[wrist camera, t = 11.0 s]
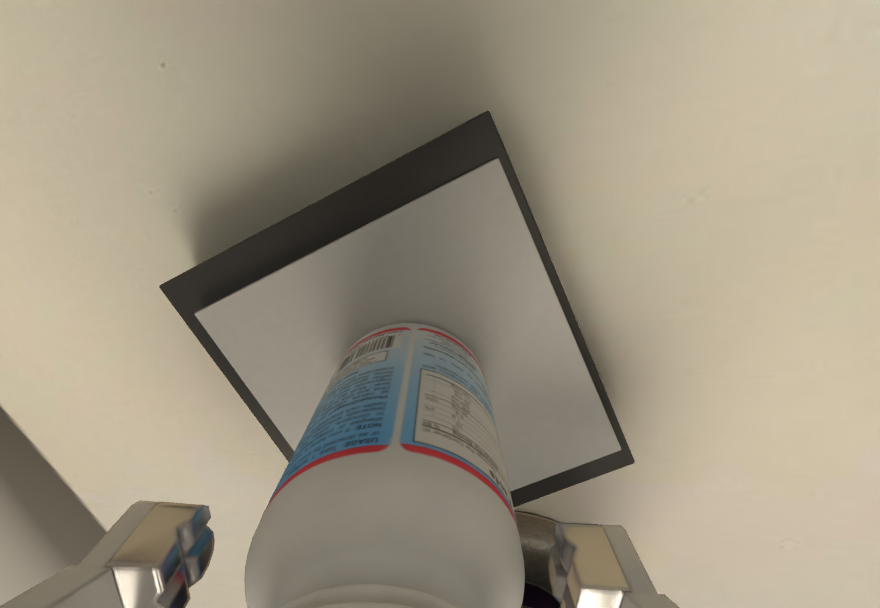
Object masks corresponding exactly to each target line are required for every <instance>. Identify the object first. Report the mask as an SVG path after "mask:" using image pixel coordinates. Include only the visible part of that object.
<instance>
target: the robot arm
mask: <svg viewBox="0 0 880 608" xmlns="http://www.w3.org/2000/svg"><path fill="white" fill-rule="evenodd" d="M210 518H211V516H210V511H209V506H205V505H196V504H183V503H170V502H153V501H138V502H136V503H135V504H133V505H131V506H130V508H129V509H128V510H127V511H126V512H125V513H124V514H123V515H122V516H121V518H120V519H119V520H118V521H117V522H116V523H115V524H114V525H113V526H112V528H111V529H110V530H109V531H108V532H107V533H106V534H105V536H104V537H103V538H102V539H101V540H100V541H99V542H98V543H97V544H96V546H95V547H94V548H93V549H92V550H91V551H90V552H89V553H88V554H87V555H86V557H85V558H84V559H83V560H82V561H81V562H80V563H79V564H78V566H69V567H67V568H65V569H63V570H62V571H60V572H58V573H57V574H55V575H53V576H51V577H50V578H48V579H46V580H44V581H43V582H41V583H39V584H38V585H36V586H34V587H32V588H31V589H29V590H27V591H25V592H24V593H22V594H20V595H18V596H17V597H15V598H13V599H12V600H10V601H8V602H6V603H5V604H3V605H1V606H0V608H185V607H186V605H187V603H188V602H189V600H190V593H189V588H190V587H191V586H192V585H194V584H195V583H196V582H198V581H199V580H200V579H201V578H202V577H203V575H204V573H205V571H206V570H207V568H208V566H209V563H210V560H211V557H212V554H213V551H214V534H213V531H212V530H211V529H210V528H209V527H208V526H207V525H206V524H207V523H208V521H209V520H210ZM553 536H554V540H555V543H556V544H555V545H554V546H553V547H552V548H551V549H550V552H549V558H548V574H549V581H550V586H551V590H552V594H553V596H554V597H555V598H556V599H557V600H558V602H559V603H560V604H561V605H560V608H679V607H678V606H677V605H676V604H675V603H674V602H672V601H671V600H670V599H669V598H668V597H667V596H666V595H664V594H657V592H656V590H655V588H654V586H653V584H652V582H651V580H650V578H649V576H648V574H647V572H646V570H645V568H644V566H643V564H642V562H641V560H640V558H639V556H638V554H637V552H636V550H635V548H634V546H633V544H632V542H631V540H630V538H629V536H628V534H627V532H626V530H625V529H624V528H623V527H622V526H620V525H598V524H577V523H557V524H556V526H555V528H554V532H553Z"/></svg>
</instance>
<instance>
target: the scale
mask: <svg viewBox="0 0 880 608" xmlns="http://www.w3.org/2000/svg"><path fill="white" fill-rule="evenodd" d="M159 287H160V289H161V290H162V291H163V293H164V294H165V295H166V297H167V298H168V299H169V301H170V302H171V304H172V305H173V306H174V308H175V309H176V310H177V312H178V313H179V314H180V316H181V317H182V318H183V320H184V321H185V322H186V324H187V325H188V326H189V328H190V329H191V331H192V332H193V333H194V335H195V336H196V337H197V339H198V340H199V341H200V343H201V344H202V345H203V347H204V348H205V349H206V351H207V352H208V353H209V355H210V356H211V358H212V359H213V360H214V362H215V363H216V364H217V366H218V367H219V368H220V370H221V371H222V372H223V374H224V375H225V376H226V378H227V379H228V380H229V382H230V383H231V385H232V386H233V387H234V389H235V390H236V391H237V393H238V394H239V395H240V397H241V398H242V399H243V401H244V402H245V403H246V405H247V406H248V407H249V409H250V410H251V412H252V413H253V414H254V416H255V417H256V418H257V420H258V421H259V422H260V424H261V425H262V426H263V428H264V429H265V430H266V432H267V433H268V434H269V436H270V437H271V439H272V440H273V441H274V443H275V444H276V445H277V447H278V448H279V449H280V451H281V452H282V453H283V455H284V456H285V457H286V459H287V460H288V461H289V462H290V460H291V458H292V456H293V454H294V452H295V450H296V448H297V446H298V444H299V442H300V440H301V438H302V436H303V434H304V432H305V430H306V428H307V426H308V424H309V422H310V420H311V418H312V416H313V414H314V412H315V410H316V408H317V406H318V404H319V402H320V400H321V398H322V396H323V394H324V392H325V390H326V388H327V386H328V384H329V382H330V380H331V378H332V376H333V374H334V372H335V370H336V368H337V366H338V365H339V363H340V361H341V360H342V358H343V356H344V355H345V354H346V352H347V351H348V350H349V349H350V348H351V346H352V345H353V344H355V343H356V342H357V341H358V340H359V339H361V338H362V337H363V336H365V335H367V334H368V333H370V332H372V331H374V330H376V329H379V328H382V327H385V326H388V325H393V324H399V323H417V324H425V325H429V326H433V327H436V328H439V329H441V330H444V331H446V332H448V333H450V334H452V335H453V336H455V337H456V338H458V339H459V340H460V341H462V342H463V343H464V344H465V345H466V346H467V347H468V348H469V349H470V350H471V351H472V353H473V354H474V356H475V357H476V359H477V360H478V362H479V364H480V366H481V368H482V370H483V373H484V376H485V380H486V383H487V388H488V392H489V397H490V402H491V406H492V410H493V415H494V420H495V425H496V429H497V433H498V438H499V443H500V447H501V452H502V457H503V462H504V466H505V470H506V476H507V480H508V485H509V489H510V494H511V498H512V503H513V506H514V507H516V506H519V505H521V504H524V503H527V502H529V501H532V500H535V499H538V498H540V497H543V496H546V495H549V494H551V493H554V492H557V491H559V490H562V489H565V488H568V487H570V486H573V485H576V484H578V483H581V482H584V481H587V480H589V479H592V478H595V477H597V476H600V475H603V474H606V473H608V472H611V471H614V470H617V469H619V468H622V467H625V466H627V465H630V464H633V463H634V458H633V456H632V454H631V451H630V449H629V446H628V444H627V442H626V439H625V437H624V434H623V432H622V430H621V427H620V425H619V422H618V420H617V417H616V415H615V413H614V410H613V408H612V405H611V403H610V401H609V398H608V396H607V393H606V391H605V389H604V386H603V384H602V381H601V379H600V376H599V374H598V372H597V369H596V367H595V364H594V362H593V360H592V357H591V355H590V352H589V350H588V348H587V345H586V343H585V340H584V338H583V335H582V333H581V331H580V328H579V326H578V323H577V321H576V319H575V316H574V314H573V311H572V309H571V306H570V304H569V302H568V299H567V297H566V294H565V292H564V290H563V287H562V285H561V282H560V280H559V278H558V275H557V273H556V270H555V268H554V265H553V263H552V261H551V258H550V256H549V253H548V251H547V249H546V246H545V244H544V241H543V239H542V237H541V234H540V232H539V229H538V227H537V224H536V222H535V220H534V217H533V215H532V212H531V210H530V208H529V205H528V203H527V200H526V198H525V196H524V193H523V191H522V188H521V186H520V183H519V181H518V179H517V176H516V174H515V171H514V169H513V167H512V164H511V162H510V159H509V157H508V155H507V152H506V150H505V147H504V145H503V142H502V140H501V138H500V135H499V133H498V130H497V128H496V126H495V123H494V121H493V118H492V116H491V113H490V112H489V111H486V112H484V113H482V114H480V115H478V116H476V117H475V118H473V119H471V120H469V121H467V122H465V123H463V124H461V125H460V126H458V127H456V128H454V129H452V130H450V131H448V132H446V133H445V134H443V135H441V136H439V137H437V138H435V139H433V140H431V141H430V142H428V143H426V144H424V145H422V146H420V147H418V148H416V149H415V150H413V151H411V152H409V153H407V154H405V155H403V156H401V157H400V158H398V159H396V160H394V161H392V162H390V163H388V164H386V165H385V166H383V167H381V168H379V169H377V170H375V171H373V172H371V173H370V174H368V175H366V176H364V177H362V178H360V179H358V180H356V181H355V182H353V183H351V184H349V185H347V186H345V187H343V188H341V189H340V190H338V191H336V192H334V193H332V194H330V195H328V196H326V197H325V198H323V199H321V200H319V201H317V202H315V203H313V204H311V205H310V206H308V207H306V208H304V209H302V210H300V211H298V212H296V213H295V214H293V215H291V216H289V217H287V218H285V219H283V220H281V221H280V222H278V223H276V224H274V225H272V226H270V227H268V228H266V229H265V230H263V231H261V232H259V233H257V234H255V235H253V236H251V237H250V238H248V239H246V240H244V241H242V242H240V243H238V244H236V245H235V246H233V247H231V248H229V249H227V250H225V251H223V252H221V253H220V254H218V255H216V256H214V257H212V258H210V259H208V260H206V261H205V262H203V263H201V264H199V265H197V266H195V267H193V268H191V269H190V270H188V271H186V272H184V273H182V274H180V275H178V276H176V277H175V278H173V279H171V280H169V281H167V282H165V283H163V284H161V285H160V286H159Z"/></svg>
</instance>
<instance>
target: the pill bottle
mask: <svg viewBox="0 0 880 608" xmlns="http://www.w3.org/2000/svg"><path fill="white" fill-rule="evenodd" d="M524 585H525V569H524V559H523V553H522V548H521V541H520V535H519V531H518V527H517V521H516V517H515V512H514V506H513V503H512V498H511V494H510V489H509V485H508V480H507V476H506V470H505V466H504V462H503V457H502V452H501V447H500V443H499V438H498V433H497V429H496V425H495V420H494V415H493V410H492V406H491V402H490V397H489V392H488V388H487V383H486V380H485V376H484V373H483V370H482V368H481V366H480V364H479V362H478V360H477V359H476V357H475V356H474V354H473V353H472V351H471V350H470V349H469V348H468V347H467V346H466V345H465V344H464V343H463V342H462V341H460V340H459V339H458V338H456V337H455V336H453V335H452V334H450V333H448V332H446V331H444V330H441V329H439V328H436V327H433V326H429V325H425V324H417V323H399V324H393V325H388V326H385V327H382V328H379V329H376V330H374V331H372V332H370V333H368V334H367V335H365V336H363V337H362V338H361V339H359V340H358V341H357V342H356V343H355V344H353V345H352V346H351V348H350V349H349V350H348V351H347V352H346V354H345V355H344V356H343V358H342V360H341V361H340V363H339V365H338V366H337V368H336V370H335V372H334V374H333V376H332V378H331V380H330V382H329V384H328V386H327V388H326V390H325V392H324V394H323V396H322V398H321V400H320V402H319V404H318V406H317V408H316V410H315V412H314V414H313V416H312V418H311V420H310V422H309V424H308V426H307V428H306V430H305V432H304V434H303V436H302V438H301V440H300V442H299V444H298V446H297V448H296V450H295V452H294V454H293V456H292V458H291V460H290V462H289V464H288V466H287V468H286V470H285V471H284V473H283V475H282V477H281V479H280V481H279V484H278V486H277V488H276V490H275V491H274V493H273V495H272V497H271V499H270V501H269V504H268V506H267V508H266V510H265V511H264V513H263V516H262V518H261V520H260V523H259V525H258V527H257V529H256V531H255V533H254V536H253V538H252V541H251V545H250V548H249V551H248V555H247V560H246V566H245V596H246V601H247V606H248V608H521V606H522V602H523V595H524Z"/></svg>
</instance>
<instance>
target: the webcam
mask: <svg viewBox="0 0 880 608" xmlns="http://www.w3.org/2000/svg"><path fill="white" fill-rule="evenodd" d="M515 517H516V521H517V527H518V531H519V535H520V541H521V548H522V553H523V559H524V569H525V585H524V595H523V602H522V606H521V608H560V605H561V604H560V603H559V602H558V600H557V599H556V598H555V597H554V596H553V594H552V590H551V586H550V581H549V574H548V558H549V552H550V549H551V548H552V547H553V546H554V545H555V544H556V543H555V540H554V536H553V532H554V528H555V526H556V524H557V522H555V521H552V520H550V519H546V518H543V517H540V516H536V515H532V514H527V513H522V512H515Z"/></svg>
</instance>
